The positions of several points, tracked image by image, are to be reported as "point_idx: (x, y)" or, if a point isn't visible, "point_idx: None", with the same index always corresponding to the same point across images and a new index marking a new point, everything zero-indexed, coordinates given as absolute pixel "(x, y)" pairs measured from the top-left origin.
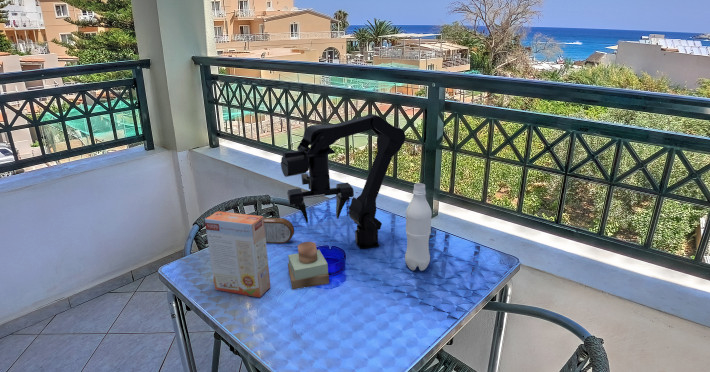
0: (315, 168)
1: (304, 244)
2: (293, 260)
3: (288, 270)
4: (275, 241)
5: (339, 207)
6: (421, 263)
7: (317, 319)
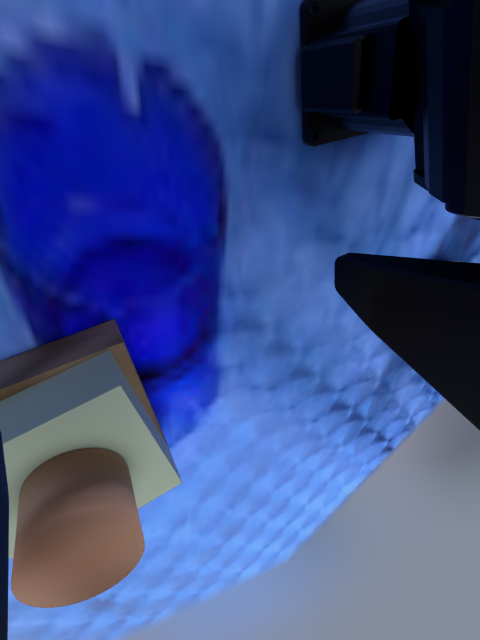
0: None
1: (59, 561)
2: None
3: None
4: None
5: (470, 415)
6: None
7: (144, 553)
